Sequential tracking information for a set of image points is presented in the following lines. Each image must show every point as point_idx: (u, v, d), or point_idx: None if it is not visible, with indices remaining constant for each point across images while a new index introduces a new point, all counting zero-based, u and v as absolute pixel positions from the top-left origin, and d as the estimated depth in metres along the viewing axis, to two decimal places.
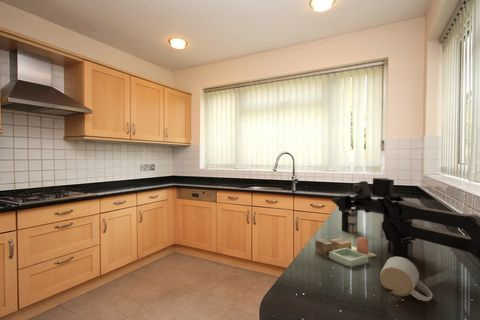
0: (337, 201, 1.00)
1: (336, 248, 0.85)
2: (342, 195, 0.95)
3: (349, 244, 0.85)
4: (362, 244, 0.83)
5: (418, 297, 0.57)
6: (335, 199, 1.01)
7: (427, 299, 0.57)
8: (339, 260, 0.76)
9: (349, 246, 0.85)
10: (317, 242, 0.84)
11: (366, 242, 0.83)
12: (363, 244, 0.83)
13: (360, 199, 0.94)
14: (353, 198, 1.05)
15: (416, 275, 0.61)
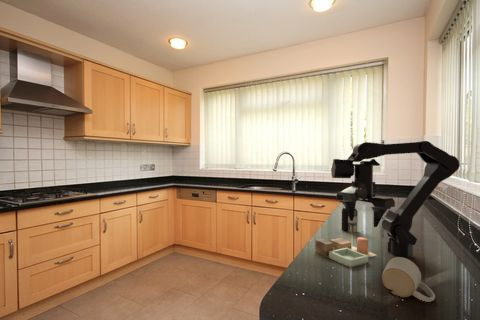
0: (379, 216, 0.80)
1: (336, 248, 0.85)
2: (379, 205, 0.76)
3: (349, 244, 0.85)
4: (362, 244, 0.83)
5: (420, 298, 0.57)
6: (377, 220, 0.80)
7: (430, 300, 0.57)
8: (339, 260, 0.76)
9: (349, 246, 0.85)
10: (317, 242, 0.84)
11: (366, 242, 0.83)
12: (363, 244, 0.83)
13: None
14: (350, 212, 0.89)
15: (418, 276, 0.61)
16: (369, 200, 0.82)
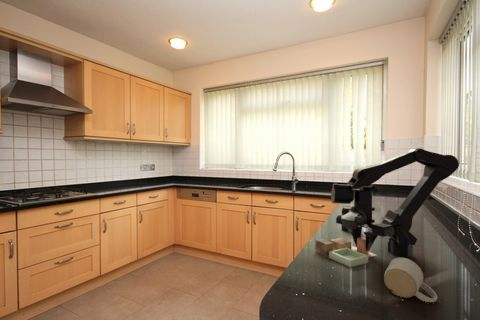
0: (371, 241, 0.82)
1: (336, 248, 0.85)
2: (379, 233, 0.76)
3: (349, 244, 0.85)
4: (362, 244, 0.83)
5: (423, 299, 0.57)
6: (369, 244, 0.82)
7: (432, 301, 0.56)
8: (339, 260, 0.76)
9: (349, 246, 0.85)
10: (317, 242, 0.84)
11: None
12: (363, 244, 0.83)
13: None
14: None
15: (420, 276, 0.60)
16: None
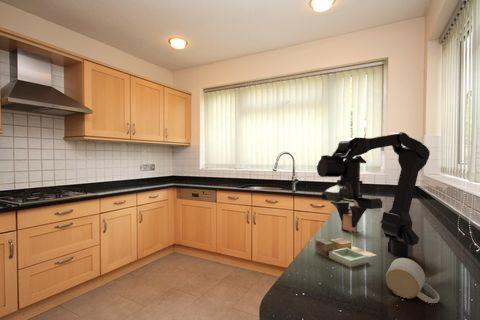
0: (357, 216, 0.75)
1: (336, 248, 0.85)
2: (365, 205, 0.70)
3: (349, 244, 0.85)
4: (348, 219, 0.77)
5: (425, 299, 0.56)
6: (355, 220, 0.75)
7: (434, 301, 0.56)
8: (339, 260, 0.76)
9: (349, 246, 0.85)
10: (317, 242, 0.84)
11: None
12: (349, 220, 0.77)
13: None
14: None
15: (422, 277, 0.60)
16: None
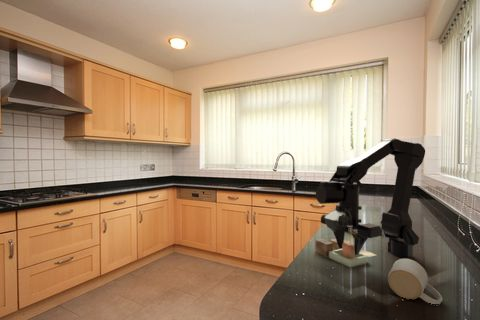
0: (360, 243, 0.74)
1: (336, 248, 0.85)
2: (365, 234, 0.69)
3: None
4: (348, 250, 0.76)
5: (428, 300, 0.56)
6: (358, 248, 0.74)
7: (437, 302, 0.56)
8: (339, 260, 0.76)
9: None
10: (317, 242, 0.84)
11: (352, 248, 0.76)
12: (349, 251, 0.76)
13: None
14: (339, 239, 0.80)
15: (425, 278, 0.60)
16: (355, 227, 0.75)
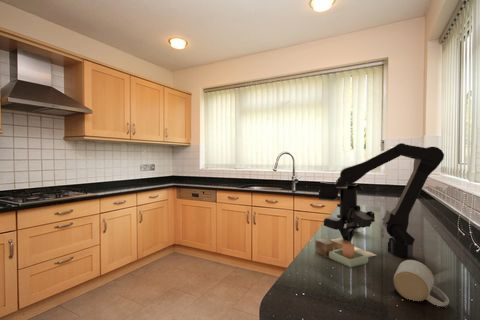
0: None
1: (336, 248, 0.85)
2: None
3: None
4: (348, 250, 0.76)
5: (434, 302, 0.55)
6: None
7: (444, 305, 0.55)
8: (339, 260, 0.76)
9: None
10: (317, 242, 0.84)
11: (352, 248, 0.76)
12: (349, 250, 0.76)
13: None
14: None
15: (431, 279, 0.59)
16: None
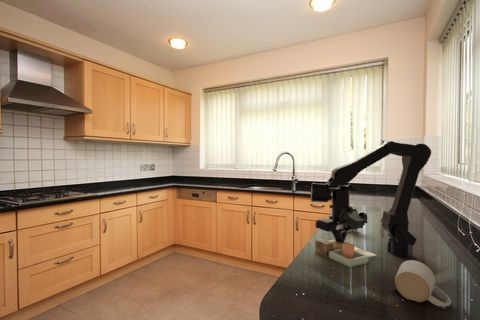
0: None
1: None
2: None
3: None
4: (348, 250, 0.76)
5: (436, 303, 0.55)
6: None
7: (445, 305, 0.55)
8: (339, 260, 0.76)
9: None
10: (317, 242, 0.84)
11: (352, 248, 0.76)
12: (349, 250, 0.76)
13: None
14: None
15: (433, 280, 0.59)
16: None
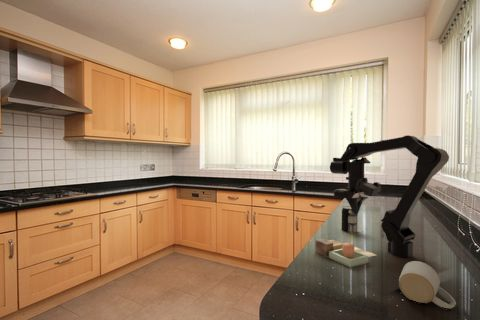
0: None
1: None
2: (376, 193, 0.97)
3: (341, 246, 0.83)
4: (348, 250, 0.76)
5: (441, 304, 0.55)
6: None
7: (450, 307, 0.54)
8: (339, 260, 0.76)
9: (341, 248, 0.83)
10: (317, 242, 0.84)
11: (352, 248, 0.76)
12: (349, 251, 0.76)
13: None
14: None
15: (437, 281, 0.58)
16: None
